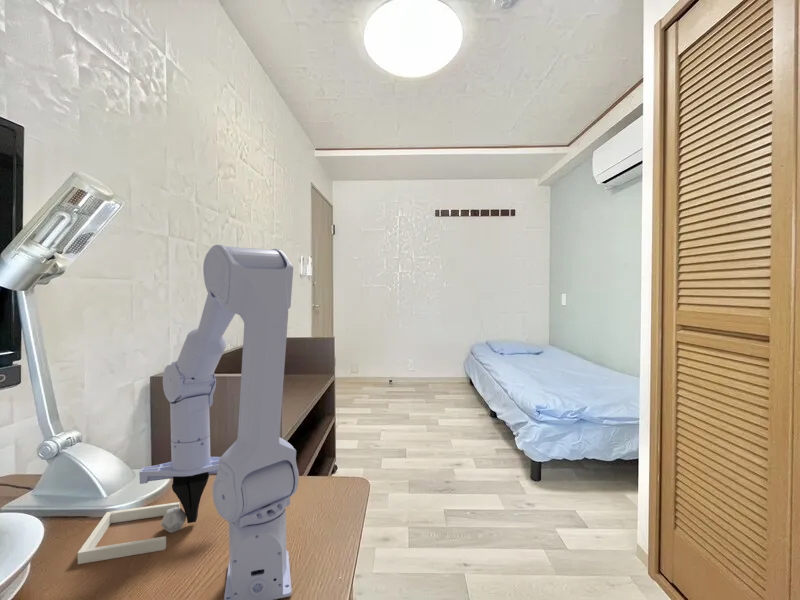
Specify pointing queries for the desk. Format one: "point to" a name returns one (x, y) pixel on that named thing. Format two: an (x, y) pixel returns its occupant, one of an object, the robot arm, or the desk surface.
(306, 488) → the desk surface
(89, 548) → the bay
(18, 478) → the desk surface
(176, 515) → the game die
